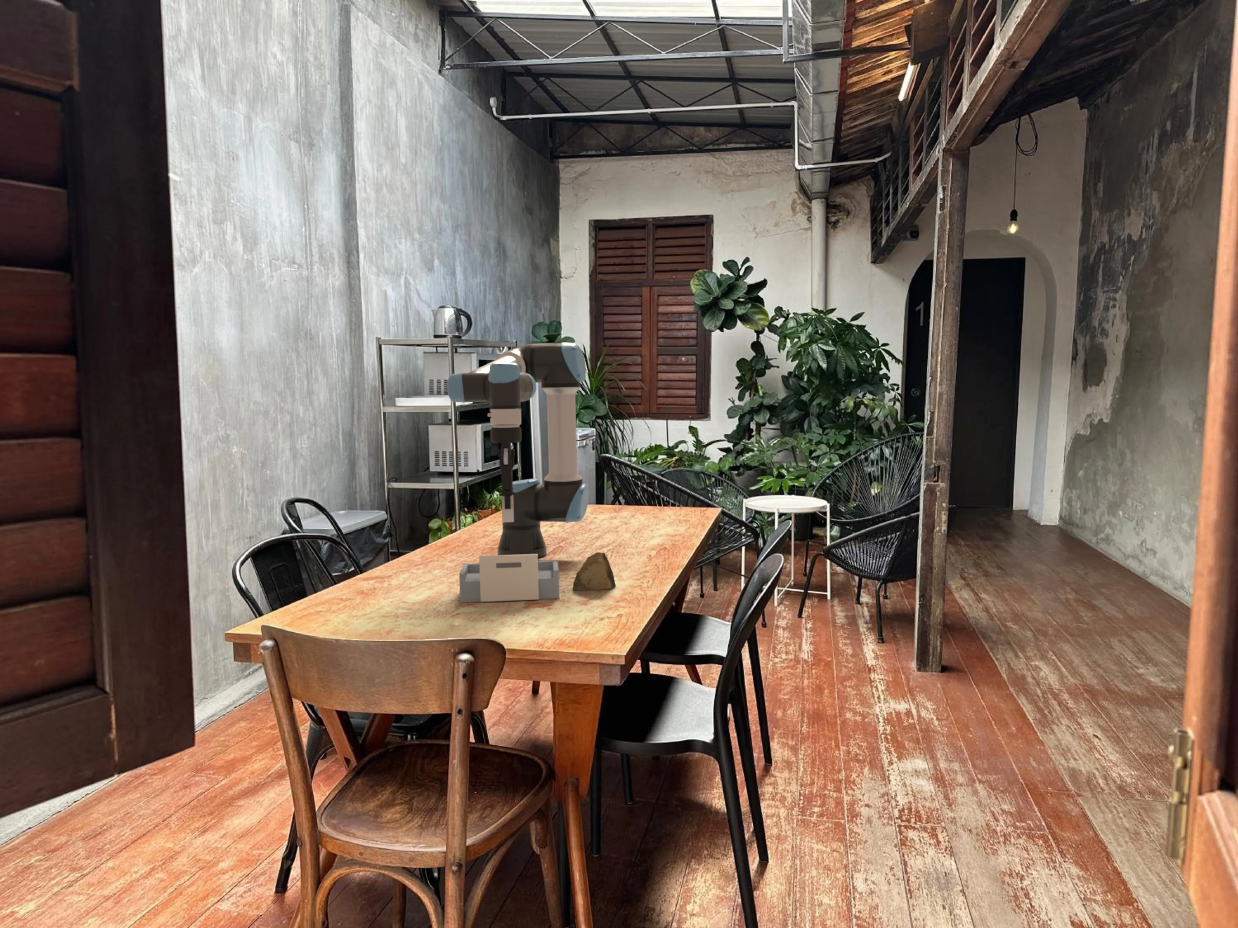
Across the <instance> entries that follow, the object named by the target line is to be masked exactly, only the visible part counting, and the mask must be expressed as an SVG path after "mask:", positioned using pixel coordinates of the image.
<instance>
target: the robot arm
mask: <svg viewBox="0 0 1238 928" xmlns="http://www.w3.org/2000/svg"><path fill="white" fill-rule="evenodd" d="M586 374H587V367H586V361H585V356H584V354H583V351H582V349H581V347H580V345H578V344H577V343H574V342H546V343H527V344H523V345H518V346H516V347H513V348H511V349H508V350H506V351H504V352H501V353H500V354H499V355H498V356H497V357H496V359H495V360H493V361H491V362H488V363H487V364H485V365H483V366H480V367H478V368H475V369H474V370H472V371H470V372H460V373H452V374H450V375H449V376H448V379H447V382H446V383H447V385H446V390H447V395H448V398H449V399H450V401H452V402H454V403H463V404H465V403H485V402H486V403H487V402H488V403H489V412H488V413H487V417H489V419H490V423H489V424H490V425H491V426H492V427H491V428H490V429H489V430H490V442H491V443H493V444H500V449H498V450H497V456H498V459H499V461H498V463H499V468H500V473H501V474H500V476H501V477H500V479H501V492H500V493H498V494H499V495H498V497H501V498H500V500H501V516H502V517H501V519H502V522H501V523H502V532H501V535H500V539H499V542H498V546H497V551H496V552H497V555H520V554H538V558H542V557H544V556H546V555H547V551H548V550H547V549H548V548H547V545H546V542H545V538H544V536H543V532H542V530H541V523H542V522H543V523H544V522H545V523H546V522H547V523H550V522H551V523H552V522H553V523H554V522H555V523H578V522H581V521H582V520H583V519H584V517H585V516H586V512H587V509H588V505H589V499H590V498H589V497H590V490H589V485H588V484H587V483H583V477H582V475H580V474H579V473H578V461H577V460H578V457H577V456H578V454H577V453H578V452H577V418H576V417H577V414H576V411H577V410H576V409H577V408H576V406H577V405H576V393H577V392H579V390H580V388H581V383H582V382H585V381H586V377H587V375H586ZM537 383H541V390H542V391H543V392H544V393H545V394H546V413H547V414H546V415H547V416H546V417H547V446H548V447H547V449H548V451H547V452H548V455H547V456H548V474H546V476H545V477H544V479H543V482H544V483H540V480H539V479H538V478H529V479H521V480H515V481H513V468H514V467H515V460H514V459H515V453H516V452H515V449H513V448H512V444H514V443H521V442H522V428H521V427H520V425H522V408H521V407H522V406H521V404H522V403H524V402H526V401H529V400H530V399H532V398H533V397H534V396H535V393H536V391H537Z"/></svg>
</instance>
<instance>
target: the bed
mask: <svg viewBox="0 0 1238 928" xmlns="http://www.w3.org/2000/svg"><path fill="white" fill-rule="evenodd" d="M559 573H560V571H559V562H558V560H557V559H556V560H555V559H554V560H538V586H539V599H538V600H549V599H553V600H554V599H560V576H559V575H560V574H559ZM458 575H459V576H458V577H459V600H460V601H459V603H475V602H476V603H477V602H478V603H479V602H481V597H480V566H479V562H473V563H472V562H471V563H463V564H462V567H461V569H460V572H459V574H458Z"/></svg>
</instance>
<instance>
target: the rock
mask: <svg viewBox="0 0 1238 928" xmlns="http://www.w3.org/2000/svg"><path fill="white" fill-rule="evenodd" d="M616 586H617V585H616V580H615V575H614V572H613V570H612V566H611V564H610V560H609V559H608V557H607V555H606V553H605V552H601V551H600V552H598V551H597V552H595V553H593V554H591V555H590V556H588V557H587V558H586V560H585V561H584V563H583V564H582V566H581V567H580V569H579V570H578V571H577V572H576V574H575V578H574V581H573V585H572V590H573V591H597V590H598V591H599V590H601V591H602V590H610V589H614V588H616Z"/></svg>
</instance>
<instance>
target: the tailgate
mask: <svg viewBox="0 0 1238 928" xmlns="http://www.w3.org/2000/svg"><path fill="white" fill-rule="evenodd" d="M478 558H479V559H478V563H479V566H480V597H481V601H480V603H482V602H483V603H486V602H507V601H508V602H510V601H511V602H512V601H530V600H531V601H533V600H540V599H539V586H538V561H539V557H538V554H520V555H498V554H497V555H495V554H494V555H479V557H478Z"/></svg>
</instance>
